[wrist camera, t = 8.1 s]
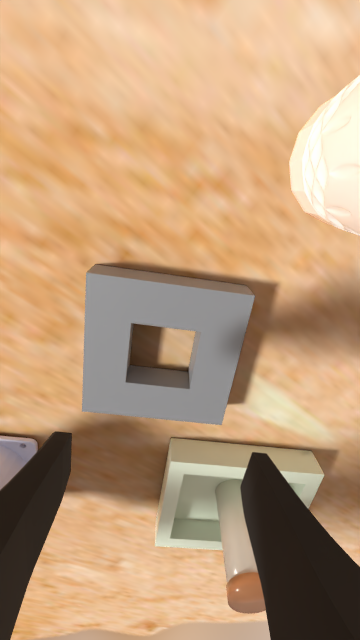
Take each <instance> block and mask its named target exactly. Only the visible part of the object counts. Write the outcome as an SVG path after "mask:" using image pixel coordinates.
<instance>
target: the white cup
mask: <svg viewBox="0 0 360 640" xmlns="http://www.w3.org/2000/svg"><path fill="white" fill-rule="evenodd" d="M289 168H290V180H291V191H292V192H293V194H294V196H295V197H296V199H297V201H298V202H299V204H300V206H301V207H302V209H303V211H304V212H305V213H307V214H309V215H311V216H313V217H315V218H316V219H318V220H320V221H322V222H324V223H326V224H330V225H333V226H335V227H337V228H339V229H342V230H344V231H347V232H350V233H353V234H356V235H359V236H360V75H359V76H358V77H357V78H355V79H354V80H353V81H351V82H350V83H349V84H348V85H347V86H346V87H345V88H344V89H343V90H341V91H340V92H339V93H338V94H337V95H336V96H334V97H333V98H331V99H330V100H328V101H327V102H325V103H324V104H322V105H321V106H320V107H319V108H318V109H317V110H316V112H315V113H314V114H313V115H312V117H311V118H310V119H309V120H308V122H307V123H306V124H305V125H304V127H303V128H302V129H301V130H300V132H299V133H298V136H297V139H296V143H295V146H294V149H293V152H292V155H291V158H290V161H289Z"/></svg>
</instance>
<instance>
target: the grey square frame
mask: <svg viewBox="0 0 360 640" xmlns="http://www.w3.org/2000/svg"><path fill="white" fill-rule="evenodd" d="M254 298H255V295H254V294H253V293H252V291H251V290H250V289H249V288H248V287H247V285H240V284H233V283H226V282H218V281H211V280H204V279H197V278H190V277H183V276H176V275H169V274H162V273H154V272H147V271H140V270H133V269H126V268H119V267H112V266H105V265H98V264H95V265H94V266H93V267H92V268H91V269H90V270H89V271H87V272H86V299H85V333H84V366H83V399H82V411H84V412H94V413H105V414H115V415H125V416H135V417H145V418H155V419H166V420H176V421H186V422H196V423H206V424H216V425H222V421H223V417H224V413H225V409H226V405H227V402H228V398H229V394H230V390H231V386H232V382H233V379H234V375H235V371H236V367H237V363H238V359H239V356H240V352H241V348H242V344H243V340H244V336H245V333H246V329H247V325H248V321H249V317H250V314H251V310H252V306H253V302H254ZM134 324H142V325H150V326H158V327H166V328H174V329H182V330H190V331H196V332H195V338H194V343H193V348H192V353H191V359H190V364H189V369H188V372H186V371H178V370H169V369H160V368H151V367H142V366H133V365H130V355H131V345H132V335H133V325H134Z"/></svg>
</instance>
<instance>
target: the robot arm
mask: <svg viewBox="0 0 360 640" xmlns="http://www.w3.org/2000/svg"><path fill="white" fill-rule="evenodd" d="M71 441H72V433H65V432H54V433H53V434H52V435H51V436H50V437H49V439H48V440H47V441H46V442H45V443H44V444H43V446H42V447H41V448H40V449H39V450H38V445H37V441H36V440H34V439H31V438H20V437H9V436H0V640H10V638H11V635H12V632H13V629H14V626H15V622H16V619H17V616H18V613H19V610H20V607H21V604H22V601H23V598H24V595H25V592H26V589H27V586H28V583H29V580H30V577H31V575H32V572H33V569H34V567H35V564H36V562H37V560H38V557H39V555H40V552H41V550H42V548H43V545H44V543H45V540H46V538H47V535H48V533H49V531H50V528H51V526H52V523H53V521H54V518H55V516H56V514H57V511H58V509H59V506H60V504H61V501H62V498H63V495H64V492H65V489H66V485H67V482H68V478H69V475H70V472H71ZM240 490H241V498H242V506H243V512H244V518H245V522H246V526H247V530H248V534H249V538H250V542H251V546H252V550H253V554H254V558H255V562H256V566H257V570H258V574H259V578H260V582H261V587H262V591H263V596H264V601H265V607H266V613H267V619H268V625H269V631H270V637H271V640H360V567H359V566H358V565H357V564H356V563H355V562H354V561H353V560H352V559H351V558H350V556H349V555H348V554H347V553H346V552H345V551H344V550H343V549H342V548H341V547H340V546H339V545H338V544H337V543H336V541H335V540H334V539H333V538H332V537H331V536H330V535H329V534H328V532H327V531H326V530H325V529H324V528H323V527H322V525H321V524H320V523H319V522H318V521H317V519H316V518H315V517H314V516H313V515H312V513H311V512H310V511H309V510H308V508H307V507H306V506H305V504H304V503H303V502H302V501H301V499H300V498H299V497H298V495H297V494H296V493H295V491H294V490H293V489H292V487H291V486H290V485H289V483H288V482H287V481H286V479H285V478H284V477H283V475H282V474H281V472H280V471H279V470H278V468H277V467H276V465H275V464H274V463H273V461H272V460H271V459H270V457H269V456H268V454H267V453H258V452H252V454H251V457H250V460H249V463H248V466H247V469H246V472H245V474H244V477H243V480H242V483H241V486H240Z"/></svg>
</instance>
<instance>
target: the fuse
mask: <svg viewBox="0 0 360 640" xmlns="http://www.w3.org/2000/svg"><path fill="white" fill-rule="evenodd" d="M241 483H242V481H239V480H227V481H224V482H222V483H220V484H219V485H218V486H217V488H216V490H215V495H216V503H217V511H218V518H219V526H220V533H221V541H222V548H223V556H224V563H225V571H226V578H227V585H226V590H227V597H228V604H229V606H230V607H231V608H232V609H233V610H235V611H237V612H240V613H259V612H262V611H265V610H266V607H265V601H264V596H263V591H262V587H261V582H260V578H259V574H258V570H257V566H256V562H255V558H254V554H253V550H252V546H251V542H250V538H249V534H248V530H247V526H246V522H245V518H244V512H243V506H242V498H241V490H240V486H241Z"/></svg>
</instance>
